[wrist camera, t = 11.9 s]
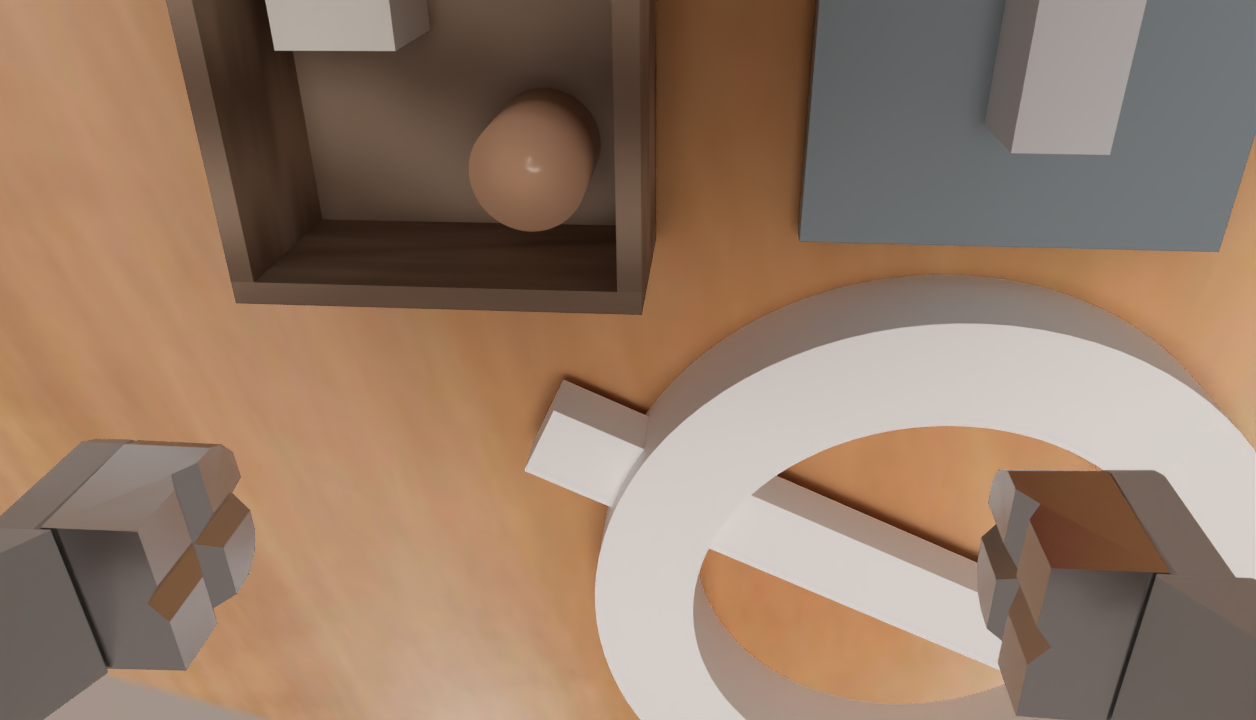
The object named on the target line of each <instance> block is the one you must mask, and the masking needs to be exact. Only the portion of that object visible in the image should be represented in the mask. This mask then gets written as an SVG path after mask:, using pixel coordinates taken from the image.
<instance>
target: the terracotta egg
mask: <svg viewBox="0 0 1256 720" xmlns="http://www.w3.org/2000/svg"><path fill="white" fill-rule="evenodd" d="M600 148H601V141H600V134H599V129H598V127H597V124H596V122H595V120H594V118H593V116H592V114H591V113H590V111H589V110H588V109H587V108H586V107H585V106H584V104H582V103H581V102H580V101H579V100H578V99H576V98H575V97H573V96H572V95H570V94H568V93H566V92H563V91H560V90H557V89H552V88H536V89H531V90H528V91H525V92H523V93H521V94H519V95H517V96H516V97H514V98H513V99H512V100H511V101H510V102H508V103H507V105H506V106H505V107H504V108H503V109H502V110H501V111H500V113H499V114H498V115H497V116H496V117H495V118H494V120H493V121H492V122H491V123H490V124H489V125H488V127H487V128H486V129H485V130H484V131H483V132H482V134H481V135H480V136H479V137H478V139H477V141H476V142H475V144H474V146H473V149H472V151H471V154H470V159H469V179H470V184H471V187H472V190H473V192H474V194H475V197H476V198H477V200H478V202H479V203H480V205H481V206H482V207H483V208H484V210H485V211H486V212H487V213H488V214H489V215H490V216H492V217H493V218H494V219H495V220H497V221H499V222H500V223H502V224H504V225H506V226H508V227H511V228H514V229H517V230H521V231H530V232H532V231H543V230H547V229H551V228H553V227H556V226H558V225H560V224H561V223H563V222H564V221H566V220H567V219H568V218H569V217H571V216H572V214H573V213H574V212H575V211H576V210H577V208H578V207H579V205H580V203H581V201H582V199H583V197H584V194H585V192H586V189H587V187H588V184H589V182H590V180H591V177H592V175H593V172H594V170H595V168H596V165H597V162H598V159H599V156H600Z"/></svg>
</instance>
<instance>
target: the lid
mask: <svg viewBox="0 0 1256 720" xmlns="http://www.w3.org/2000/svg"><path fill="white" fill-rule="evenodd" d="M1255 134H1256V0H817V2H816V14H815V27H814V39H813V51H812V64H811V76H810V88H809V100H808V113H807V125H806V137H805V150H804V162H803V174H802V187H801V199H800V211H799V223H798V236H799V241H800V242H833V243H874V244H914V245H954V246H995V247H1035V248H1075V249H1116V250H1156V251H1197V252H1219V250H1220V246H1221V243H1222V240H1223V237H1224V234H1225V230H1226V227H1227V224H1228V221H1229V217H1230V214H1231V211H1232V208H1233V205H1234V201H1235V198H1236V195H1237V192H1238V188H1239V185H1240V182H1241V179H1242V176H1243V172H1244V169H1245V166H1246V163H1247V160H1248V156H1249V153H1250V150H1251V147H1252V143H1253V140H1254V137H1255Z"/></svg>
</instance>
